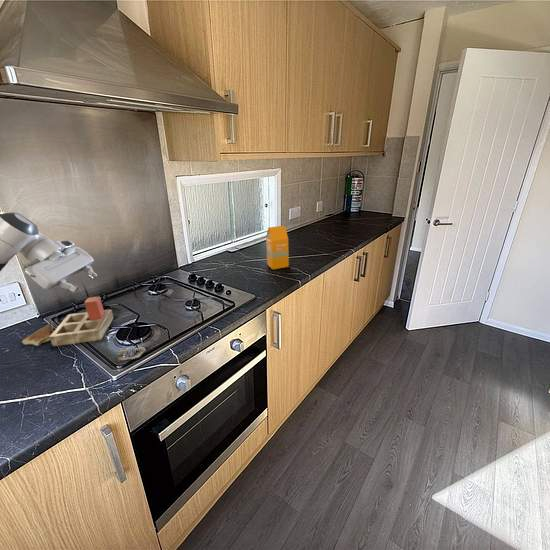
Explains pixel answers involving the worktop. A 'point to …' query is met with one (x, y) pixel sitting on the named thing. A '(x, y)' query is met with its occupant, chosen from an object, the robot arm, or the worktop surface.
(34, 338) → the shard
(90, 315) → the peg
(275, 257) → the orange juice
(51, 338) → the four-pane grid frame
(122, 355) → the grey flat piece
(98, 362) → the worktop surface
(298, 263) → the worktop surface
